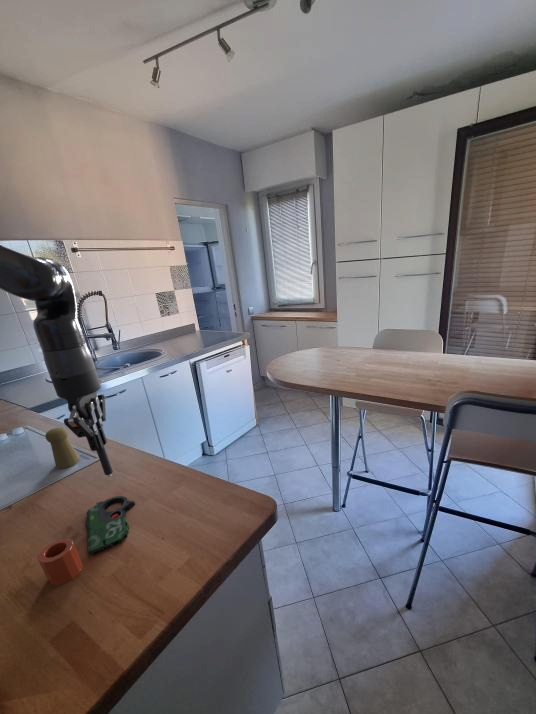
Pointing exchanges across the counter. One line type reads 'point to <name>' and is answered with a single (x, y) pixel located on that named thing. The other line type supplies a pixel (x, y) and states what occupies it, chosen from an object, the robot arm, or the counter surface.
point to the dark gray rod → (104, 459)
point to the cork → (62, 448)
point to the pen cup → (60, 561)
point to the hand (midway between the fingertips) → (99, 446)
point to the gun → (107, 524)
